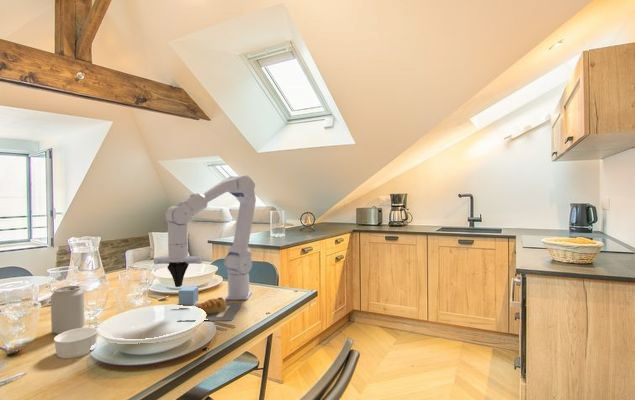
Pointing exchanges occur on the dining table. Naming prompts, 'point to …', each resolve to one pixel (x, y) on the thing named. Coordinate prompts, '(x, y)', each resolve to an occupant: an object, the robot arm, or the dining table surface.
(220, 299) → the pastry
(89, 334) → the ramekin
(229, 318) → the board
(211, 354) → the dining table surface
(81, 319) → the can
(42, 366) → the dining table surface
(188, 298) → the blue cube
